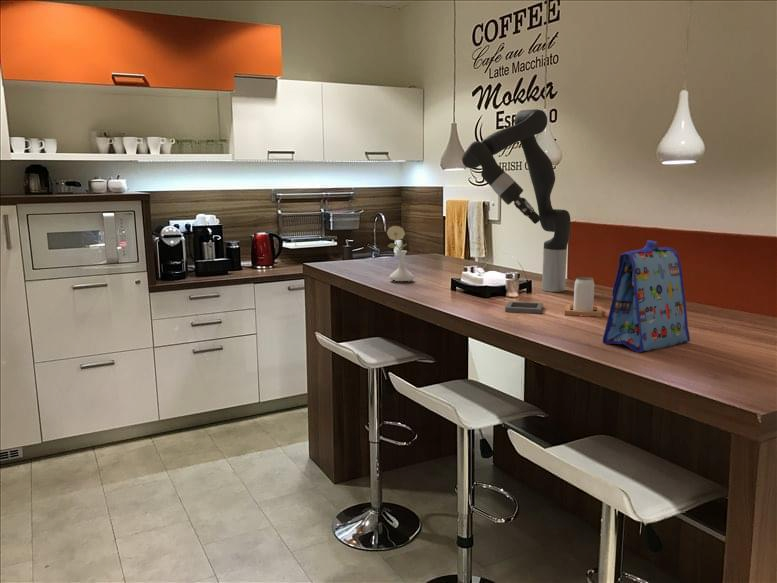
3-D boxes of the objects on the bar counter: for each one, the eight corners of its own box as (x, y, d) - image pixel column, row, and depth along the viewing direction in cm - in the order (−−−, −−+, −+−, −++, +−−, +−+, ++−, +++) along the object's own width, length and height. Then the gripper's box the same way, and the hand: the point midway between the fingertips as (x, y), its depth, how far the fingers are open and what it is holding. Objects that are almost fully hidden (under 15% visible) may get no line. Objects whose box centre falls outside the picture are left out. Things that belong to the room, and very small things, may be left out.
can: (593, 315, 219) (595, 280, 217) (574, 314, 220) (575, 279, 218) (591, 311, 225) (593, 277, 223) (572, 310, 227) (574, 276, 225)
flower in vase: (418, 280, 293) (418, 225, 288) (408, 284, 282) (408, 227, 278) (391, 278, 298) (391, 224, 294) (381, 282, 288) (381, 226, 283)
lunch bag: (649, 333, 193) (656, 237, 188) (691, 343, 182) (699, 240, 177) (600, 343, 182) (606, 240, 177) (642, 354, 171) (649, 245, 166)
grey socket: (509, 305, 236) (509, 301, 236) (542, 307, 233) (542, 302, 232) (505, 311, 225) (505, 307, 224) (540, 313, 221) (540, 309, 221)
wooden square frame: (565, 308, 230) (565, 304, 230) (601, 310, 227) (601, 306, 227) (564, 315, 219) (564, 310, 219) (602, 317, 216) (602, 312, 215)
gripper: (512, 180, 221) (545, 215, 220) (516, 180, 234) (547, 213, 233) (496, 196, 223) (528, 230, 222) (501, 195, 237) (532, 227, 236)
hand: (538, 221), depth 228 cm, fingers open, 8 cm apart
